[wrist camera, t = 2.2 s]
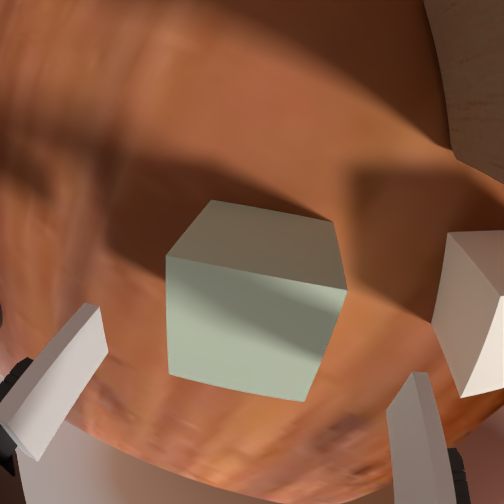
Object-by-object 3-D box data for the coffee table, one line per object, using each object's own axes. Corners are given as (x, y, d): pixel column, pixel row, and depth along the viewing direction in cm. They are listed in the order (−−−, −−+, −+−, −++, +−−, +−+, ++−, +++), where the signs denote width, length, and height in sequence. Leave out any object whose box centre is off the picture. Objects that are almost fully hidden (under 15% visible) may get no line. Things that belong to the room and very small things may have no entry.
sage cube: (203, 298, 22) (168, 374, 15) (211, 199, 18) (165, 255, 12) (306, 318, 21) (303, 402, 15) (333, 221, 18) (347, 290, 12)
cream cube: (430, 323, 20) (460, 397, 14) (447, 231, 17) (500, 296, 11) (505, 312, 19) (544, 375, 13) (527, 228, 16) (586, 282, 10)
